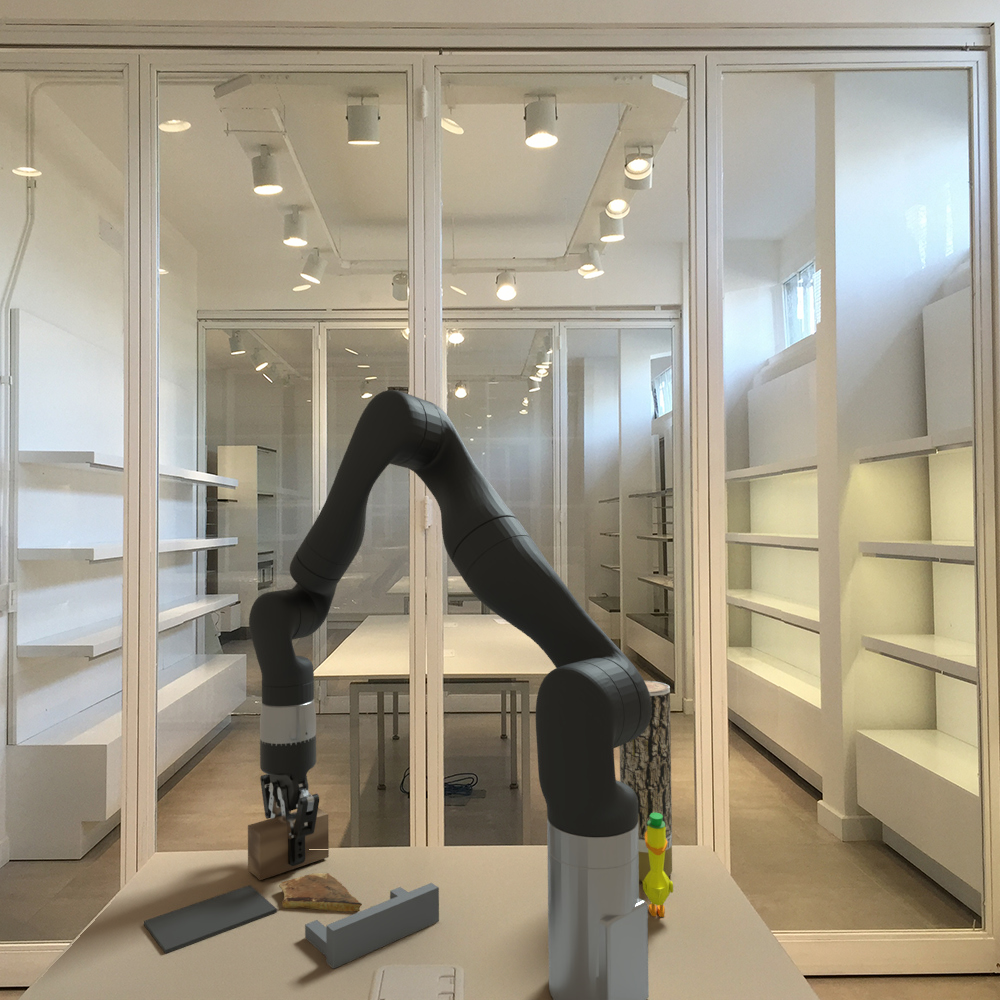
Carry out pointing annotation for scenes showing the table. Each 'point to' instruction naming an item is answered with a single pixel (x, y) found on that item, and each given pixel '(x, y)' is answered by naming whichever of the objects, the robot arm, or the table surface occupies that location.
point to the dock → (375, 925)
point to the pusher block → (283, 845)
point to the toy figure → (656, 865)
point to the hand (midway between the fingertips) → (289, 857)
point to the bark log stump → (651, 773)
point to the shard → (318, 893)
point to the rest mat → (208, 918)
